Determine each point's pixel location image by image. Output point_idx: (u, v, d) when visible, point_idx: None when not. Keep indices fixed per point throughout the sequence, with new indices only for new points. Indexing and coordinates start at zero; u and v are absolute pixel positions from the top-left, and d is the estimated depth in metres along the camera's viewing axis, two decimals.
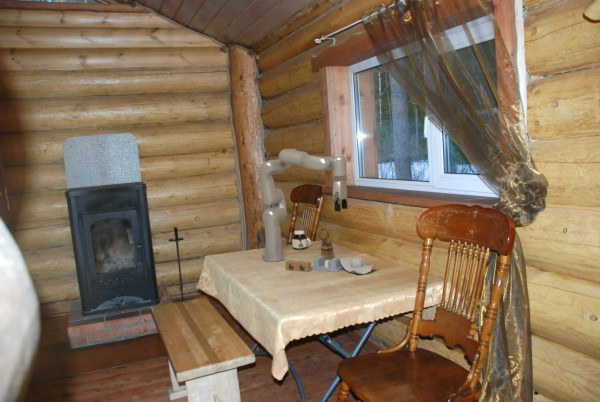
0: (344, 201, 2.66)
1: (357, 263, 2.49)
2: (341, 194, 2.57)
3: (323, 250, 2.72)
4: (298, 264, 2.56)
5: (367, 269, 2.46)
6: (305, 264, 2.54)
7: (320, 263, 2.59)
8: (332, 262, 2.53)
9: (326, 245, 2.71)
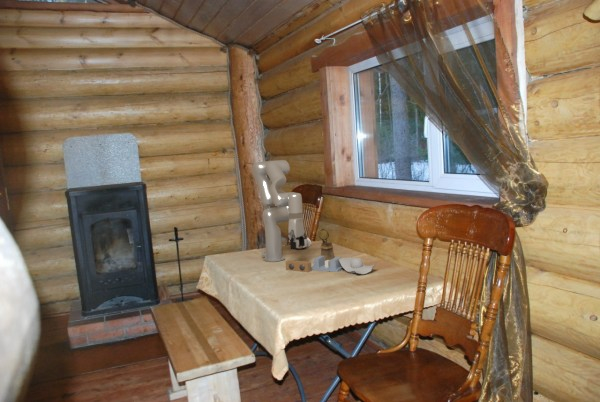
0: (301, 238, 2.61)
1: (357, 263, 2.49)
2: (297, 232, 2.52)
3: (323, 250, 2.72)
4: (298, 264, 2.57)
5: (367, 269, 2.46)
6: (305, 264, 2.54)
7: (320, 263, 2.59)
8: (332, 262, 2.53)
9: (326, 245, 2.71)
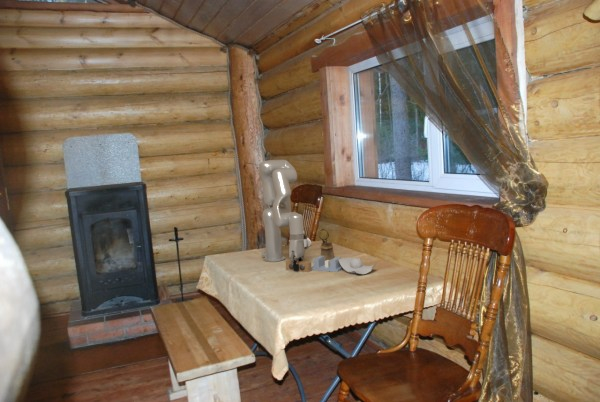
0: (300, 260, 2.60)
1: (357, 263, 2.48)
2: (297, 253, 2.54)
3: (323, 250, 2.72)
4: None
5: (367, 269, 2.46)
6: (305, 264, 2.55)
7: (320, 263, 2.59)
8: (332, 262, 2.53)
9: (326, 245, 2.71)
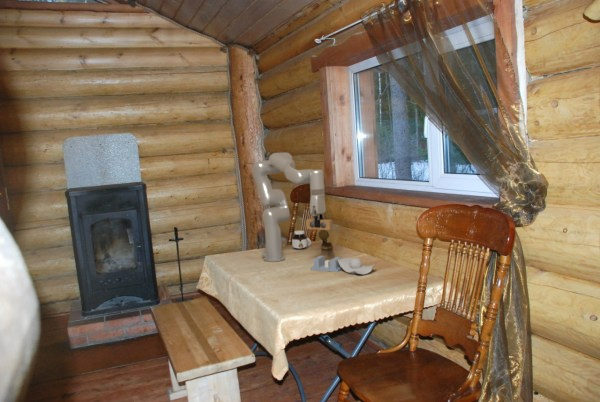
0: (320, 217, 2.57)
1: (357, 264, 2.48)
2: (318, 208, 2.51)
3: (323, 250, 2.72)
4: None
5: (367, 269, 2.46)
6: (326, 221, 2.52)
7: (320, 263, 2.59)
8: (332, 262, 2.53)
9: (326, 245, 2.71)
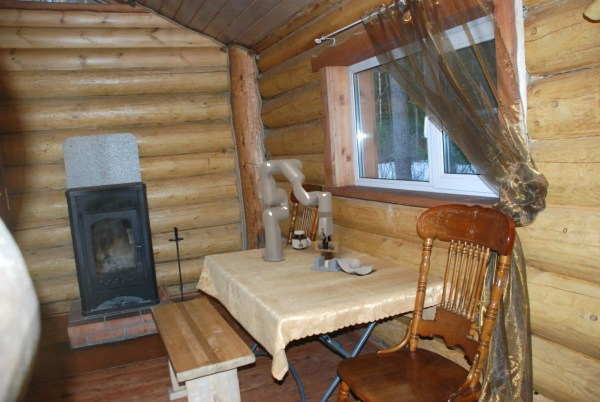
0: (328, 239, 2.59)
1: (356, 264, 2.48)
2: (327, 230, 2.53)
3: None
4: (328, 244, 2.56)
5: (367, 269, 2.45)
6: (335, 244, 2.53)
7: (320, 263, 2.59)
8: (332, 262, 2.53)
9: None
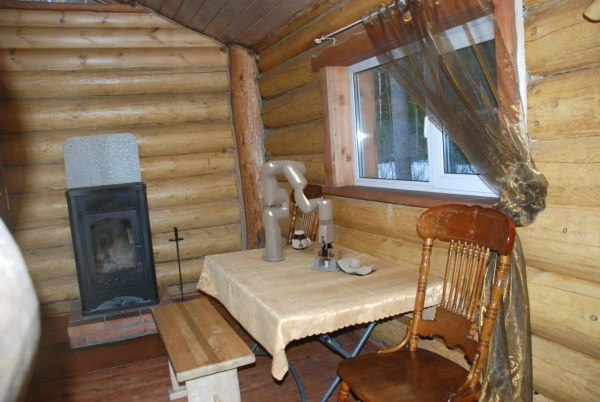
0: (329, 246, 2.60)
1: (356, 264, 2.48)
2: (327, 238, 2.53)
3: None
4: None
5: (367, 269, 2.45)
6: (335, 251, 2.54)
7: (320, 263, 2.59)
8: (332, 262, 2.53)
9: None
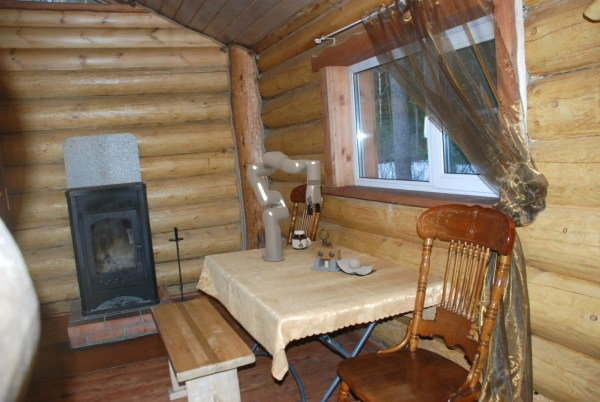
0: (318, 205, 2.66)
1: (356, 264, 2.47)
2: (314, 198, 2.57)
3: None
4: (327, 251, 2.56)
5: (367, 270, 2.45)
6: (335, 251, 2.54)
7: (320, 263, 2.59)
8: (332, 262, 2.53)
9: (326, 245, 2.71)
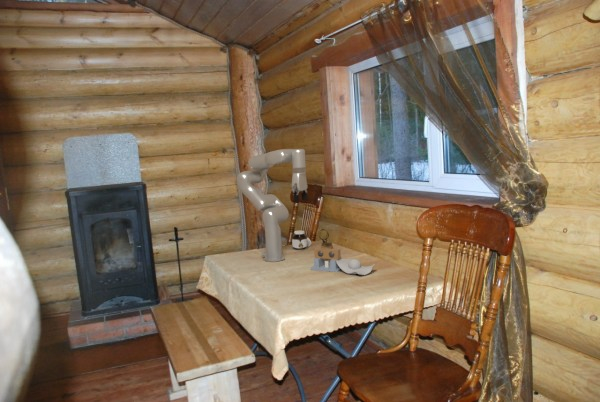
0: (304, 193, 2.73)
1: (356, 264, 2.47)
2: (300, 185, 2.64)
3: None
4: (327, 251, 2.56)
5: (367, 270, 2.45)
6: (335, 251, 2.54)
7: (320, 263, 2.59)
8: (332, 262, 2.53)
9: (326, 245, 2.71)
